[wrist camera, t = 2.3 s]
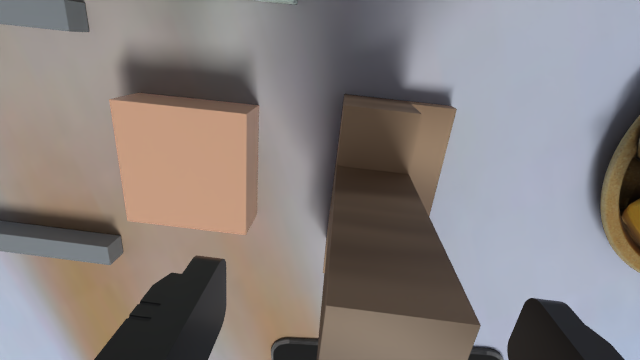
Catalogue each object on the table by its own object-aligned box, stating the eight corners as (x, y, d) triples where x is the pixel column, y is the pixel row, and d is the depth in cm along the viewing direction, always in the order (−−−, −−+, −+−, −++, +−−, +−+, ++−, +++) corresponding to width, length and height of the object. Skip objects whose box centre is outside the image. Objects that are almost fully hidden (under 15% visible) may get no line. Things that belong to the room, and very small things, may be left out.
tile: (142, 91, 17) (109, 99, 14) (260, 103, 17) (246, 114, 14) (154, 199, 19) (127, 220, 17) (258, 211, 19) (246, 234, 17)
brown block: (344, 94, 16) (342, 189, 6) (451, 106, 16) (647, 226, 5) (326, 238, 19) (303, 469, 9) (415, 249, 19) (498, 497, 9)
